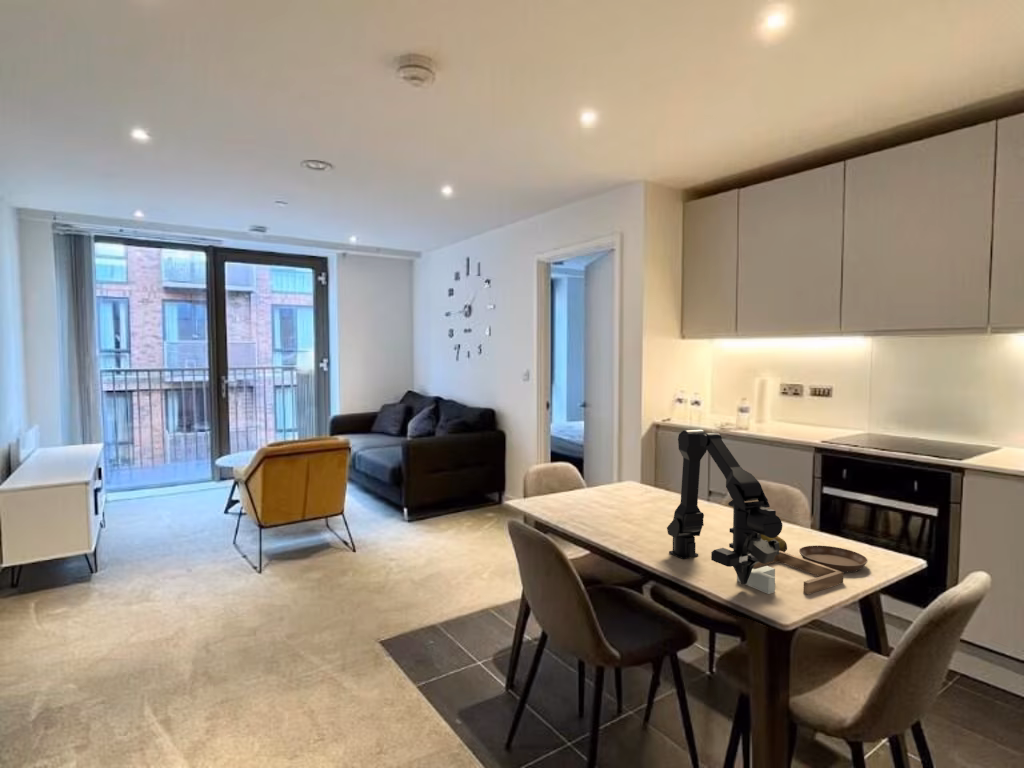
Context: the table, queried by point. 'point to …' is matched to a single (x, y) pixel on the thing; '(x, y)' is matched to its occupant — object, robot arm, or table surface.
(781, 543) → the potato
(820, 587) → the corral
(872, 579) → the table surface
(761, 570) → the t block
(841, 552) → the plant saucer
